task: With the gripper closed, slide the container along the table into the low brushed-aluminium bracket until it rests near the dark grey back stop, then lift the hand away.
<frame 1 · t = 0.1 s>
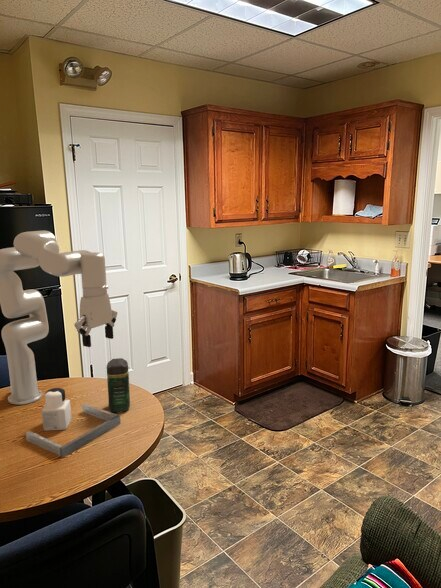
hand: (98, 342, 147), 31 cm above the table, tool pointing down, fingers open, 9 cm apart
coffee jar: (120, 407, 169), on the table
container: (58, 425, 156), on the table
bracket: (77, 432, 151), on the table
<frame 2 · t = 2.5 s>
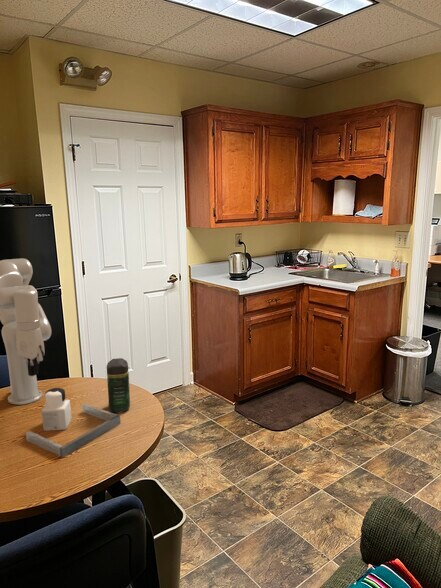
hand: (33, 374, 158), 16 cm above the table, tool pointing down, fingers closed
nothing on the table moved.
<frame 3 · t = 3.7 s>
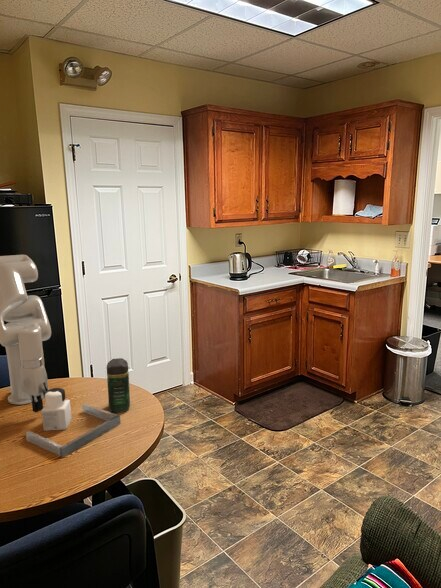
hand: (38, 410, 161), 3 cm above the table, tool pointing down, fingers closed
nothing on the table moved.
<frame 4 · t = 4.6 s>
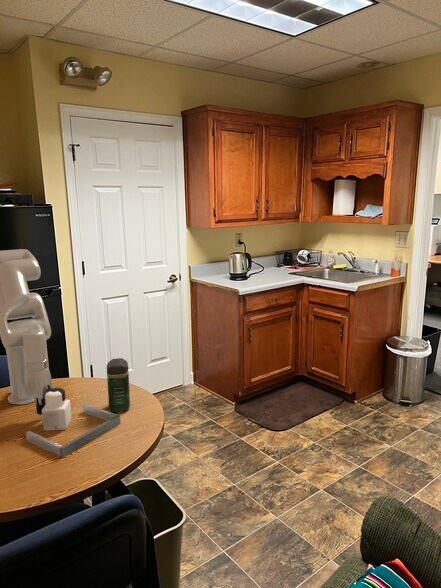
hand: (42, 412, 160), 2 cm above the table, tool pointing down, fingers closed
container: (58, 425, 156), on the table, touching gripper
everything else where it was.
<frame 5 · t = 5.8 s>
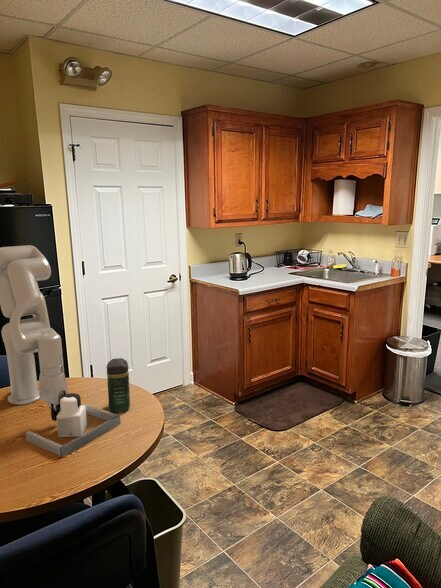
hand: (57, 418, 156), 2 cm above the table, tool pointing down, fingers closed
container: (73, 431, 152), on the table, touching gripper
everything else where it was.
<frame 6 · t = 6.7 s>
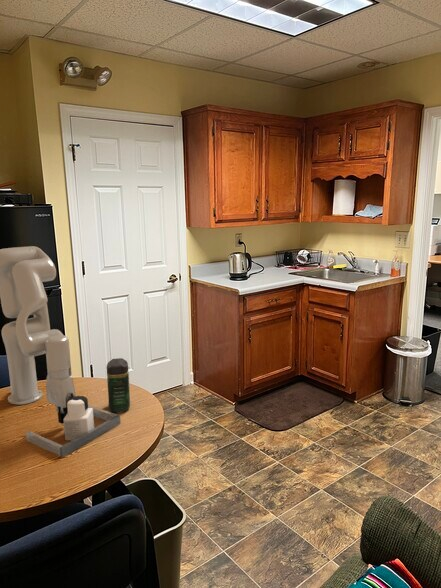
hand: (63, 421, 154), 2 cm above the table, tool pointing down, fingers closed
container: (80, 434, 150), on the table, touching bracket, gripper
everything else where it was.
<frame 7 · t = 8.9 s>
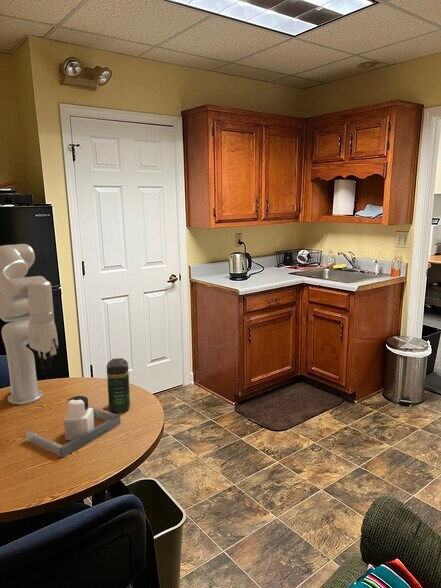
hand: (46, 368, 154), 20 cm above the table, tool pointing down, fingers closed
container: (80, 434, 150), on the table
everything else where it was.
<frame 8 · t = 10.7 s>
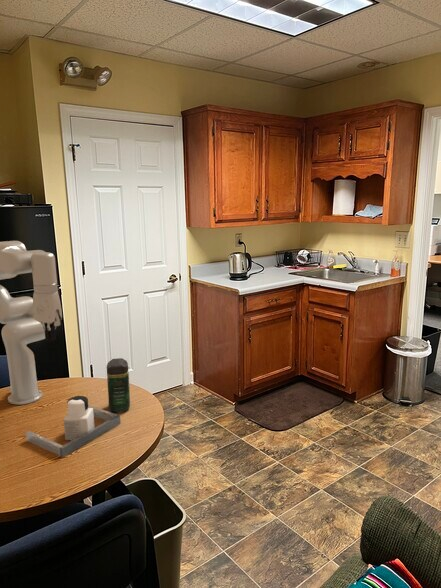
hand: (50, 340, 156), 29 cm above the table, tool pointing down, fingers closed
nothing on the table moved.
at the end: container 0.2 cm from the target spot on the bracket, point 0.0 cm above the bracket's base; container tilted 0° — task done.
